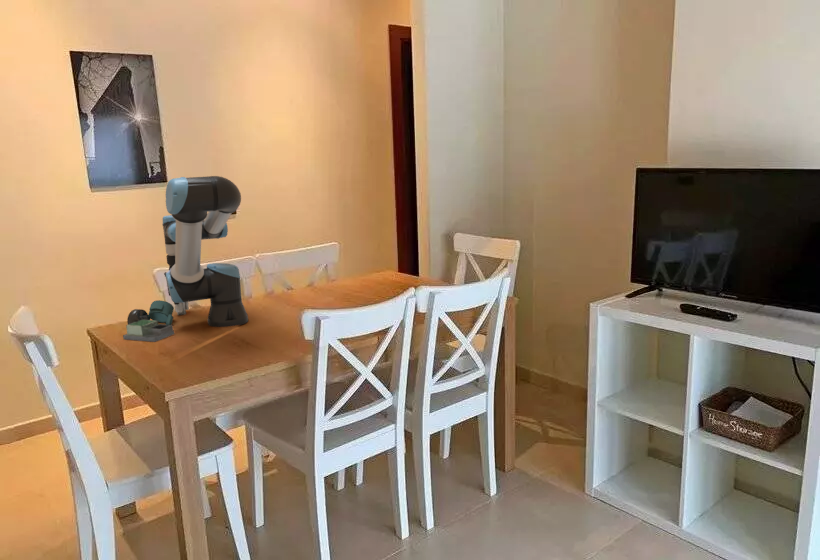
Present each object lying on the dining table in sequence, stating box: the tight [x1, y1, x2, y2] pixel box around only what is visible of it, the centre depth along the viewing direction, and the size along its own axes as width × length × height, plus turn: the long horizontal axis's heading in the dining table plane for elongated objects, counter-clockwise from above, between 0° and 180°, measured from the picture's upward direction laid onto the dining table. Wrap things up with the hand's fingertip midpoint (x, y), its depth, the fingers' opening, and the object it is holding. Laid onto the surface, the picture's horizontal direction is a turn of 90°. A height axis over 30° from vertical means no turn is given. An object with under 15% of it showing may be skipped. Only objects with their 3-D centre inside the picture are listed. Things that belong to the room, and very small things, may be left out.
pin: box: [176, 303, 187, 316], centre depth 260 cm, size 4×4×12 cm
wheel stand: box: [127, 308, 149, 325], centre depth 238 cm, size 6×8×8 cm
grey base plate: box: [122, 319, 175, 343], centre depth 231 cm, size 14×10×5 cm
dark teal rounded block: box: [147, 299, 175, 325], centre depth 247 cm, size 9×9×9 cm
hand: (182, 310), depth 261 cm, fingers closed on pin, 3 cm apart
